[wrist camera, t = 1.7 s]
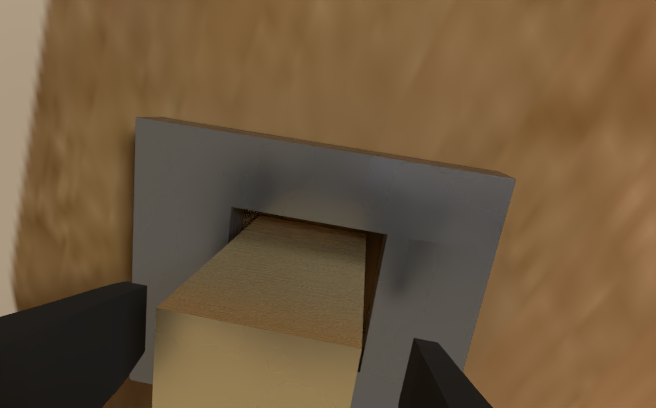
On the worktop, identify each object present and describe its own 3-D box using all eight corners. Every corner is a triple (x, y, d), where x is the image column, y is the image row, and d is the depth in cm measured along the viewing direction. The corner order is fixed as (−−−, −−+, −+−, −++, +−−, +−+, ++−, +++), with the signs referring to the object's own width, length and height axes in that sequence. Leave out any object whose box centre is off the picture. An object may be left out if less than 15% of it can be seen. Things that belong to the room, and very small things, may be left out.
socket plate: (434, 415, 15) (441, 447, 14) (151, 355, 16) (129, 379, 14) (499, 171, 13) (515, 179, 11) (161, 116, 13) (135, 117, 12)
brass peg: (348, 329, 15) (329, 513, 8) (249, 310, 15) (149, 471, 8) (366, 234, 14) (362, 349, 7) (260, 214, 14) (155, 307, 7)
